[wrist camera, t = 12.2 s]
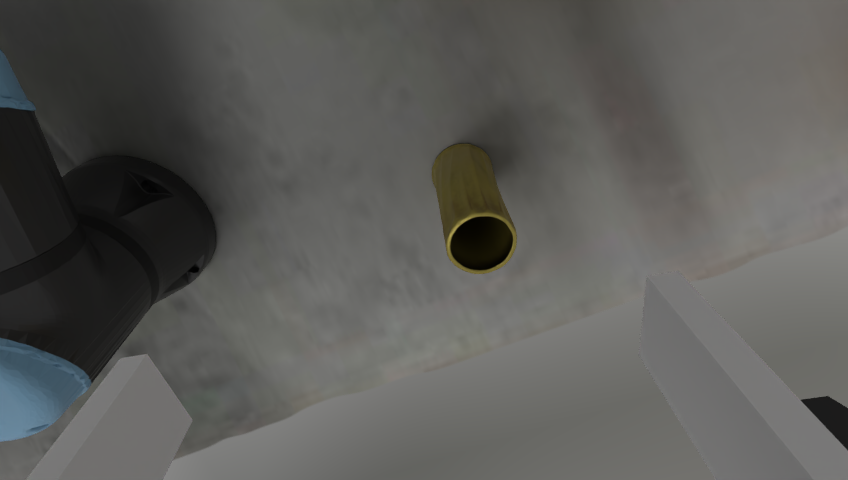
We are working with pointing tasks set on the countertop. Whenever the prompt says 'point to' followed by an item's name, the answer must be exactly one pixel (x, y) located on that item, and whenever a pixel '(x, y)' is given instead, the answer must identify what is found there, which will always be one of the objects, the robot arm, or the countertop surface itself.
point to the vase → (472, 210)
